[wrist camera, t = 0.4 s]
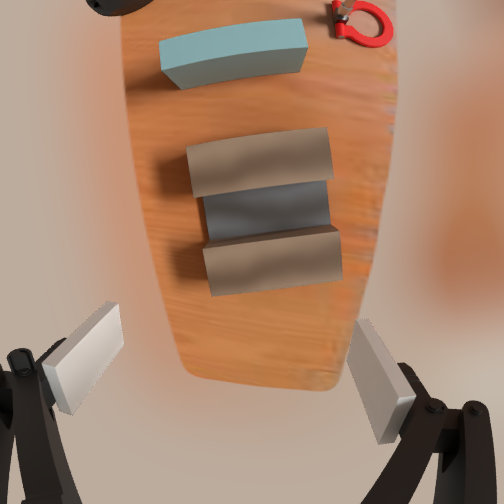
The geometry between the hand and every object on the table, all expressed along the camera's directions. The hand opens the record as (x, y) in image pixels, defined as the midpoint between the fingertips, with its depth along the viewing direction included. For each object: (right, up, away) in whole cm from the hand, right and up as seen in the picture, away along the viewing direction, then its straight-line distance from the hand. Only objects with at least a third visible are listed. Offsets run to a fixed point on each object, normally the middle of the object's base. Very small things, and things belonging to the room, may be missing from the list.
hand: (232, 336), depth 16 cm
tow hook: (+17, +38, +17) cm, 45 cm away
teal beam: (-1, +29, +20) cm, 35 cm away
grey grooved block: (+3, +10, +24) cm, 26 cm away
